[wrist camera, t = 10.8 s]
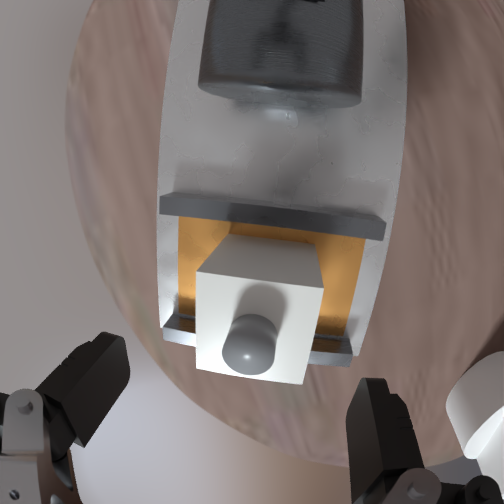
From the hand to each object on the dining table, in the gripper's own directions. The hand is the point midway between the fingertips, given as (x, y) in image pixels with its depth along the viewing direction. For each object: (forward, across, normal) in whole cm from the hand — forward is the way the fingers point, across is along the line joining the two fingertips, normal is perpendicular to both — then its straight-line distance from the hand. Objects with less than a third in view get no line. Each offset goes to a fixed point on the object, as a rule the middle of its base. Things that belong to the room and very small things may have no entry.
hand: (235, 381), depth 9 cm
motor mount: (+11, 0, -7) cm, 13 cm away
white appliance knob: (+11, -23, +10) cm, 28 cm away
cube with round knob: (+9, 0, 0) cm, 9 cm away
